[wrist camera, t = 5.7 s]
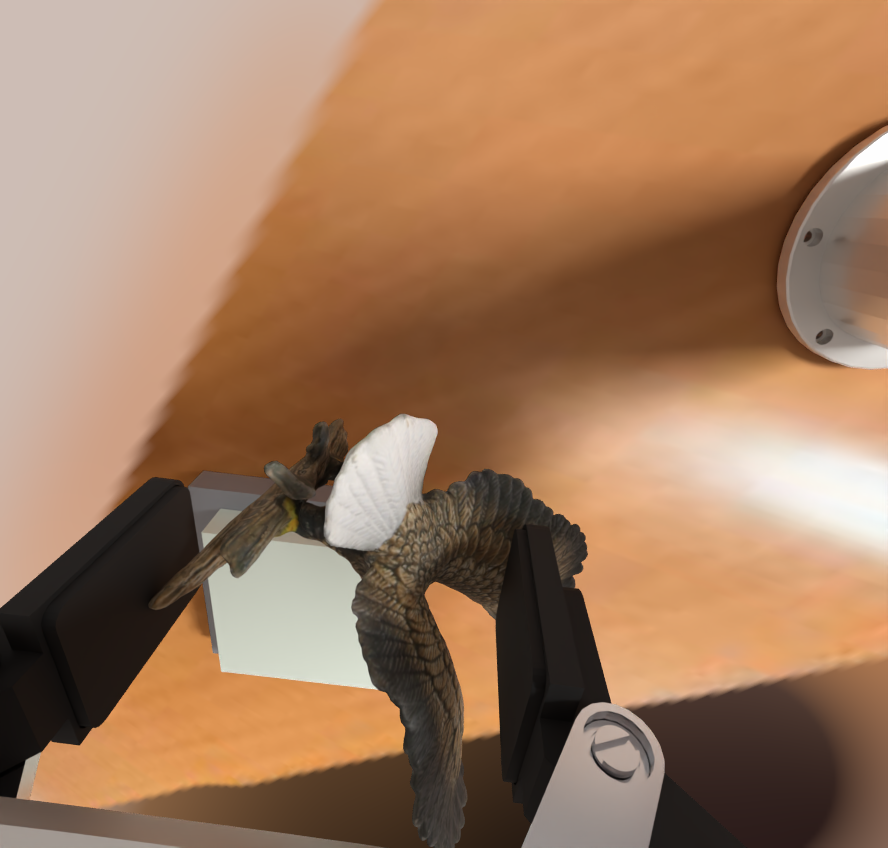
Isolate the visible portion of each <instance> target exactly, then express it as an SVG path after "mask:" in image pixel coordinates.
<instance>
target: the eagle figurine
mask: <svg viewBox="0 0 888 848" xmlns="http://www.w3.org/2000/svg"><path fill="white" fill-rule="evenodd" d="M343 422H344V421H343V420H342V419H337V420H335V421H333V422H332V423H331V425H330V426H329V427H328V425H327V423H326V422H324V421H323V422H319V423H317V424H316V425H315V427H314V429H313V441H312V443H311V444H310V445H308V446H307V448H306V452H307V453H306V456H305V457H304V458H302V459H301V460H300V461H299V462H298V463H296V464H295V465H294V466H292V467H291V468H290V469H288V468H287V467H285V466H284V465H283V464H281V463H279V462H278V461H271V462H270V463H268V464H266V465H265V467H264V472H265V473H266V475H267V476H268V477H269V478H270V479H272V480H273V481H274V482H275V483H274V484H273V485H272V486H271V487H270V488H269V489H268V490H267V491H266V492H265V493H264V494H262V495H261V496H260V497H259V498H258V499H257V500H255V501H254V502H253V503H251V504H250V505H249V506H247V507H246V508H245V509H244V510H243V511H242V512H241V513H240V514H239V515H237V516H236V517H235V518H234V519H233V520H232V521H230V522H229V523H228V524H227V525H226V526H225V527H224V528H223V529H222V530H221V531H220V532H219V533H218V534H217V535H216V536H215V537H214V538H213V539H212V540H211V541H210V542H209V543H208V544H207V545H206V546H205V548H204V549H203V550H202V551H201V552H200V553H198V554H197V555H196V556H195V557H194V558H193V559H192V560H191V561H190V562H189V563H188V564H187V565H186V566H185V567H184V568H182V569H181V570H180V571H179V572H177V573H176V574H175V575H174V576H173V577H172V578H171V579H170V580H169V581H168V582H167V583H166V584H165V585H164V586H163V587H162V589H161V590H160V591H159V592H158V593H157V594H156V595H155V596H154V597H153V598H152V599H151V600H150V602H149V604H148V607H149V608H151V609H155V610H158V609H162V608H165V607H167V606H169V605H170V604H172V603H173V602H175V601H176V600H177V599H179V598H180V597H182V596H183V595H185V594H187V593H189V592H190V591H192V590H193V589H195V588H196V587H198V586H199V585H201V584H202V583H203V582H204V581H205V580H206V579H207V578H209V577H210V576H211V575H212V574H213V573H214V572H215V571H216V570H217V569H219V568H220V567H222V566H224V565H225V564H226V563H228V564H229V566H230V572H231V574H232V576H233V577H235V578H239V577H241V576H242V575H244V574H245V573H246V572H247V571H248V569H249V568H250V567H251V566H252V565H253V564H254V563H255V562H256V560H257V559H258V558H259V557H260V555H261V553H262V552H263V551H264V549H265V548H266V547H267V545H268V544H269V543H270V542H271V540H272V539H273V538H274V537H279V536H282V535H284V534H286V533H288V532H295V533H297V534H298V535H300V536H302V537H304V538H306V539H311V540H317V541H320V542H321V543H323V544H324V545H326V546H327V547H329V548H330V549H332V550H334V551H336V552H337V553H338V554H339V555H340V556H342V557H344V558H345V559H347V560H348V561H349V562H350V564H351V565H352V568H353V569H354V570H355V571H356V572H357V573H358V574H359V575H360V577H361V579H362V580H361V581H360V582H359V583H358V584H357V586H356V589H355V598H354V599H353V600H352V605H351V609H352V612H353V614H354V615H356V616H357V618H358V620H357V622H356V626H355V628H356V630H357V633H358V642H359V644H360V646H361V649H362V656H363V659H364V661H365V662H366V663H367V667H368V672H369V676H370V679H371V682H372V684H373V685H374V686H375V687H376V688H377V689H378V690H380V691H383V692H386V693H387V694H388V696H389V698H390V700H391V701H392V702H393V703H394V704H395V705H396V706H397V707H398V708H400V719H401V723H402V724H403V725H404V727H405V736H404V743H403V749H404V752H405V754H407V755H408V757H409V763H410V765H411V767H412V769H413V771H412V776H411V781H410V785H411V787H412V789H413V790H414V792H415V794H416V798H415V801H414V806H413V816H412V820H413V824H414V825H415V827H418V833H419V838H421V840H425V839H427V844H428V846H429V847H432V846H433V848H454V843H457V842H458V841H459V839H460V829H461V828H462V827H463V826H464V822H465V820H464V815H463V812H462V807H464V806H465V803H466V801H467V791H466V787H465V785H464V782H463V772H464V767H463V764H462V761H461V754H462V735H463V730H464V725H463V723H464V703H463V697H462V692H461V688H460V684H459V682H458V679H457V675H456V672H455V669H454V665H453V662H452V659H451V656H450V653H449V650H448V648H447V646H446V642H445V640H444V638H443V637H442V635H441V633H440V631H439V629H438V627H437V624H436V622H435V619H434V617H433V615H432V613H431V611H430V609H429V605H428V603H427V601H426V599H425V596H424V594H425V591H426V590H427V588H428V586H429V585H430V584H432V583H433V582H439V583H441V584H444V585H446V586H448V587H450V588H452V589H454V590H457V591H459V592H461V593H463V594H464V595H466V596H467V597H469V598H470V599H471V600H473V601H475V602H476V603H479V604H481V605H482V606H483V608H484V609H485V610H486V611H488V613H489V615H490V616H492V617H493V618H494V619H495V620H496V613H497V608H498V603H499V598H500V594H501V589H502V585H503V580H504V575H505V571H506V566H507V561H508V557H509V552H510V548H511V543H512V538H513V534H514V530H515V529H523V526H524V524H533V525H540V526H548V527H549V529H550V532H551V537H552V541H553V546H554V550H555V555H556V559H557V564H558V569H559V573H560V578H561V582H562V587H568V588H575V579H574V578H573V575H575V574H579V573H581V572H582V570H583V566H582V563H581V562H582V561H584V560H585V559H586V557H587V555H588V553H587V551H586V550H587V545H586V543H585V542H584V541H585V539H586V536H585V535H584V533H582V532H580V527H579V526H578V525H577V524H573V525H570V522H569V521H568V520H566V519H565V517H564V516H563V515H561V514H556V515H553V510H552V509H551V508H549V507H546V506H545V504H544V503H543V501H541V500H538V499H533V497H532V491H531V490H530V489H529V488H526V487H525V486H524V483H523V482H522V481H521V480H520V479H518V478H513V477H512V476H510V475H507V474H497V473H495V472H494V471H492V470H490V469H484V470H483V471H482V472H478V471H473V472H471V473H470V474H469V476H468V478H467V479H466V480H465V481H464V482H462V481H458V482H454V483H452V484H451V485H450V486H449V489H448V490H447V491H446V492H445V491H442V490H440V489H434V490H431V491H430V492H428V493H426V494H422V488H423V481H424V475H425V472H426V469H427V463H428V460H429V457H430V454H431V451H432V448H433V445H434V443H435V439H436V436H437V434H438V429H437V427H436V424H435V423H433V422H432V421H431V420H429V419H424V418H417V417H416V418H415V417H413V416H409V415H407V414H399V415H398V416H396V417H395V418H393V419H392V420H391V421H390V422H389V423H387V424H384V425H382V426H380V427H377V428H375V429H374V430H373V431H371V432H370V433H369V434H368V435H367V436H366V437H365V438H364V439H362V440H361V441H360V442H358V443H357V444H356V445H355V446H354V447H353V448H351V449H350V451H349V452H348V443H347V432H346V431H345V429H344V428H343ZM347 452H348V454H347ZM346 454H347V455H346ZM345 455H346V458H345V460H344V456H345ZM328 480H333V481H334V485H333V488H332V492H331V495H330V496H329V498H328V500H327V501H326V506H321V507H320V506H317V505H314V504H312V503H309V502H306V501H307V500H308V499H310V498H313V497H314V496H315V495H316V490H317V489H318V488H320V487H322V486H324V485H325V484H327V482H328Z"/></svg>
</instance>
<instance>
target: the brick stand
mask: <svg viewBox="0 0 888 848" xmlns="http://www.w3.org/2000/svg"><path fill="white" fill-rule="evenodd" d="M274 483H275V482H274V481H273V480H272V479H270V478H261V477H253V476H245V475H236V474H228V473H219V472H211V471H203V472H202V473H201V474H200V475H199V476H198V477H197V478H196V479H195V480H194V481H193V482H192V483H191V484H190V485H189V486H188V489H189V491H190V495H191V501H192V507H193V514H194V520H195V526H196V533H197V539H198V545H199V552H201V551H202V550H203V549H204V548H205V546H206V545H207V544H208V543H209V542H210V541H211V540H212V539H213V538H214V537H215V536H216V535H217V534H218V533H219V532H220V531H221V530H222V529H223V528H224V527H225V526H226V525H227V524H228V523H229V522H230V521H232V520H233V519H234V518H235V517H236V516H237V515H239V514H240V513H241V512H242V511H243V510H244V509H245V508H246V507H247V506H249V505H250V504H251V503H253V502H254V501H255V500H257V499H258V498H259V497H260V496H261V495H262V494H264V493H265V492H266V491H267V490H268V489H269V488H270V487H271V486H272V485H273V484H274ZM332 488H333V486H329V485H324V486H322V487H320V488H318V489H317V490H316V495H315V496H314V497H313V498H310V499H308V500H307V501H306V502H309V503H312V504H314V505H317V506H320V507H321V506H326V501H327V500H328V498H329V496H330V495H331V492H332ZM361 580H362V579H361V577H360V575H359V574H358V573H357V572H356V571H355V570H354V569H353V568H352V565H351V564H350V562H349V561H348V560H347V559H345V558H344V557H342V556H340V555H339V554H338V553H337V552H336V551H334V550H332V549H330V548H329V547H327V546H326V545H324V544H323V543H321V542H320V541H317V540H311V539H306V538H304V537H302V536H300V535H298V534H297V533H295V532H288V533H286V534H284V535H282V536H279V537H274V538H273V539H272V540H271V542H270V543H269V544H268V545H267V547H266V548H265V549H264V551H263V552H262V553H261V555H260V557H259V558H258V559H257V560H256V562H255V563H254V564H253V565H252V566H251V567H250V568H249V569H248V571H247V572H246V573H245V574H244V575H242V576H241V577H239V578H235V577H233V576H232V574H231V572H230V566H229V564H228V563H226V564H225V565H224V566H222V567H220V568H219V569H217V570H216V571H215V572H214V573H213V574H212V575H211V576H210V577H209V578H207V579H206V580H205V581H204V582H203V590H204V596H205V603H206V609H207V616H208V623H209V629H210V636H211V643H212V649H213V653H218V654H219V659H220V666H221V671H222V672H230V673H239V674H248V675H256V676H265V677H274V678H282V679H291V680H300V681H308V682H317V683H325V684H334V685H343V686H351V687H360V688H369V689H377V688H376V687H375V686H374V685H373V684H372V682H371V679H370V676H369V672H368V667H367V663H366V662H365V661H364V659H363V656H362V649H361V646H360V644H359V642H358V633H357V630H356V628H355V626H356V622H357V620H358V618H357V616H356V615H354V614H353V612H352V609H351V605H352V600H353V599H354V598H355V589H356V586H357V584H358V583H359V582H360V581H361ZM377 690H378V689H377Z"/></svg>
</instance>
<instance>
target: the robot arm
mask: <svg viewBox="0 0 888 848" xmlns="http://www.w3.org/2000/svg"><path fill="white" fill-rule="evenodd" d="M805 235H806V237H805ZM804 237H805V239H804ZM777 293H778V300H779V307H780V310H781V312H782V315H783V317H784V320H785V322H786V325H787V327H788V328H789V329H790V331H791V332H792V333H793V335H794V336H795V337H796V339H797V340H798V341H799V342H800V343H801V344H803V345H804V346H805V347H806V348H808V349H809V350H810V351H811V352H813V353H815V354H817V355H819V356H821V357H823V358H825V359H827V360H829V361H832V362H835V363H838V364H841V365H844V366H847V367H852V368H860V369H869V370H873V369H888V125H887V126H885V127H883V128H881V129H879V130H878V131H876V132H875V133H873V134H872V135H870V136H869V137H867V138H866V139H865V140H863V141H862V142H860V143H859V144H857V145H856V146H854V147H853V148H852V149H851V150H850V151H849V152H848V153H847V154H845V155H844V156H843V157H842V158H841V159H840V160H839V161H838V162H836V163H835V164H834V165H833V166H832V167H831V168H830V169H829V170H828V172H827V173H826V174H825V175H824V176H823V177H822V179H821V180H820V181H819V182H818V183H817V185H816V186H815V187H814V188H813V189H812V190H811V192H810V193H809V195H808V197H807V198H806V200H805V201H804V203H803V204H802V206H801V208H800V209H799V211H798V212H797V214H796V215H795V218H794V220H793V222H792V224H791V227H790V229H789V231H788V234H787V236H786V238H785V240H784V244H783V248H782V252H781V256H780V260H779V264H778V275H777ZM198 553H200V552H199V545H198V539H197V533H196V526H195V520H194V514H193V507H192V501H191V495H190V491H189V489H188V488H186V487H184V485H183V483H182V482H181V481H179V480H174V479H166V478H158V477H155V478H151V479H150V480H148V481H147V482H146V483H145V484H144V485H143V486H141V487H140V488H139V489H138V490H137V491H136V492H134V493H133V494H132V495H131V496H130V497H129V498H127V499H126V500H125V501H124V502H123V503H122V504H121V505H119V506H118V507H117V508H116V509H115V510H114V511H112V512H111V513H110V514H109V515H108V516H107V517H105V518H104V519H103V520H102V521H101V522H100V523H99V524H97V525H96V526H95V527H94V528H93V529H92V530H90V531H89V532H88V533H87V534H86V535H85V536H84V537H82V538H81V539H80V540H79V541H78V542H76V543H75V544H74V545H73V546H72V547H71V548H70V549H68V550H67V551H66V552H65V553H64V554H63V555H61V556H60V557H59V558H58V559H57V560H56V561H54V562H53V563H52V564H51V565H50V566H49V567H48V568H47V569H45V570H44V571H43V572H42V573H41V574H39V575H38V576H37V577H36V578H35V579H34V580H32V581H31V582H30V583H29V584H28V585H27V586H25V587H24V588H23V589H22V590H21V591H20V592H19V593H17V594H16V595H15V596H14V597H13V598H12V599H10V601H8V602H7V603H6V604H5V605H3V606H2V607H1V608H0V848H385V847H378V846H370V845H363V844H356V843H349V842H342V841H334V840H327V839H320V838H313V837H305V836H298V835H291V834H284V833H276V832H269V831H262V830H254V829H247V828H239V827H231V826H224V825H217V824H209V823H202V822H194V821H187V820H179V819H172V818H163V817H156V816H149V815H141V814H134V813H126V812H119V811H111V810H104V809H96V808H88V807H80V806H72V805H64V804H56V803H49V802H41V801H33V800H30V796H31V792H32V788H33V783H34V779H35V775H36V770H37V766H38V762H39V757H40V753H41V752H42V751H43V750H44V748H45V747H46V746H47V745H48V743H49V742H50V741H52V742H57V743H65V744H73V745H80V744H81V743H82V742H83V740H84V739H85V738H86V736H87V735H88V733H89V732H90V731H91V729H92V728H96V727H99V726H100V725H101V724H102V723H103V722H104V721H105V720H106V718H107V717H108V716H109V714H110V713H111V711H112V710H113V709H114V707H115V706H116V704H117V703H118V702H119V700H120V699H121V697H122V696H123V695H124V693H125V692H126V690H127V689H128V687H129V686H130V685H131V683H132V682H133V680H134V679H135V678H136V676H137V675H138V673H139V672H140V671H141V669H142V668H143V666H144V665H145V664H146V662H147V661H148V659H149V658H150V657H151V655H152V654H153V652H154V651H155V649H156V648H157V647H158V645H159V644H160V642H161V641H162V640H163V638H164V637H165V635H166V634H167V633H168V631H169V630H170V628H171V627H172V626H173V624H174V623H175V621H176V620H177V618H178V617H179V616H180V614H181V613H182V611H183V610H184V609H185V607H186V606H187V604H188V603H189V602H190V600H191V599H192V597H193V596H194V595H195V593H196V592H197V590H198V589H199V587H200V585H199V586H198V587H196V588H195V589H193V590H192V591H190V592H189V593H187V594H185V595H183V596H182V597H180V598H179V599H177V600H176V601H175V602H173V603H172V604H170V605H169V606H167V607H165V608H162V609H158V610H155V609H151V608H149V607H148V604H149V602H150V600H151V599H152V598H153V597H154V596H155V595H156V594H157V593H158V592H159V591H160V590H161V589H162V587H163V586H164V585H165V584H166V583H167V582H168V581H169V580H170V579H171V578H172V577H173V576H174V575H175V574H176V573H177V572H179V571H180V570H181V569H182V568H184V567H185V566H186V565H187V564H188V563H189V562H190V561H191V560H192V559H193V558H194V557H195V556H196V555H197V554H198ZM496 647H497V671H498V694H499V718H500V741H501V765H502V778H503V781H505V782H512V793H513V802H514V803H522V804H523V808H524V816H525V817H526V818H527V819H528V821H529V822H530V823H531V824H532V825H531V827H530V829H529V832H528V834H527V836H526V839H525V841H524V844H523V846H522V848H746V847H745V846H744V845H743V844H742V843H741V842H740V841H739V840H738V839H736V838H735V837H734V836H733V835H732V834H731V833H730V832H729V831H728V830H727V829H726V828H724V827H723V826H722V825H721V824H720V823H719V822H718V821H717V820H716V819H715V818H713V817H712V816H711V815H710V814H709V813H708V812H707V811H706V810H705V809H704V808H702V807H701V806H700V805H699V804H698V803H697V802H696V801H695V800H693V798H691V797H690V796H689V795H688V794H687V793H686V792H685V791H684V790H683V789H682V788H680V787H679V786H678V785H677V784H676V783H675V782H674V781H673V780H672V779H671V778H669V777H668V776H667V775H666V774H665V773H664V758H663V754H662V750H661V747H660V745H659V743H658V741H657V739H656V738H655V736H654V734H653V732H652V731H651V730H650V729H649V728H648V727H647V725H646V724H645V723H644V722H643V721H642V720H641V719H640V718H638V717H637V716H636V715H634V714H633V713H632V712H630V711H629V710H627V709H625V708H622V707H620V706H618V705H616V704H611V700H610V696H609V693H608V689H607V685H606V681H605V678H604V674H603V670H602V666H601V662H600V659H599V655H598V651H597V647H596V644H595V640H594V636H593V632H592V628H591V625H590V621H589V617H588V613H587V610H586V606H585V602H584V598H583V595H582V593H581V591H580V590H579V589H576V588H568V587H562V582H561V578H560V573H559V569H558V564H557V559H556V555H555V550H554V546H553V541H552V537H551V532H550V529H549V527H548V526H540V525H533V524H524V526H523V529H515V530H514V534H513V538H512V543H511V548H510V552H509V557H508V561H507V566H506V571H505V575H504V580H503V585H502V589H501V594H500V598H499V603H498V608H497V613H496Z"/></svg>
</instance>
